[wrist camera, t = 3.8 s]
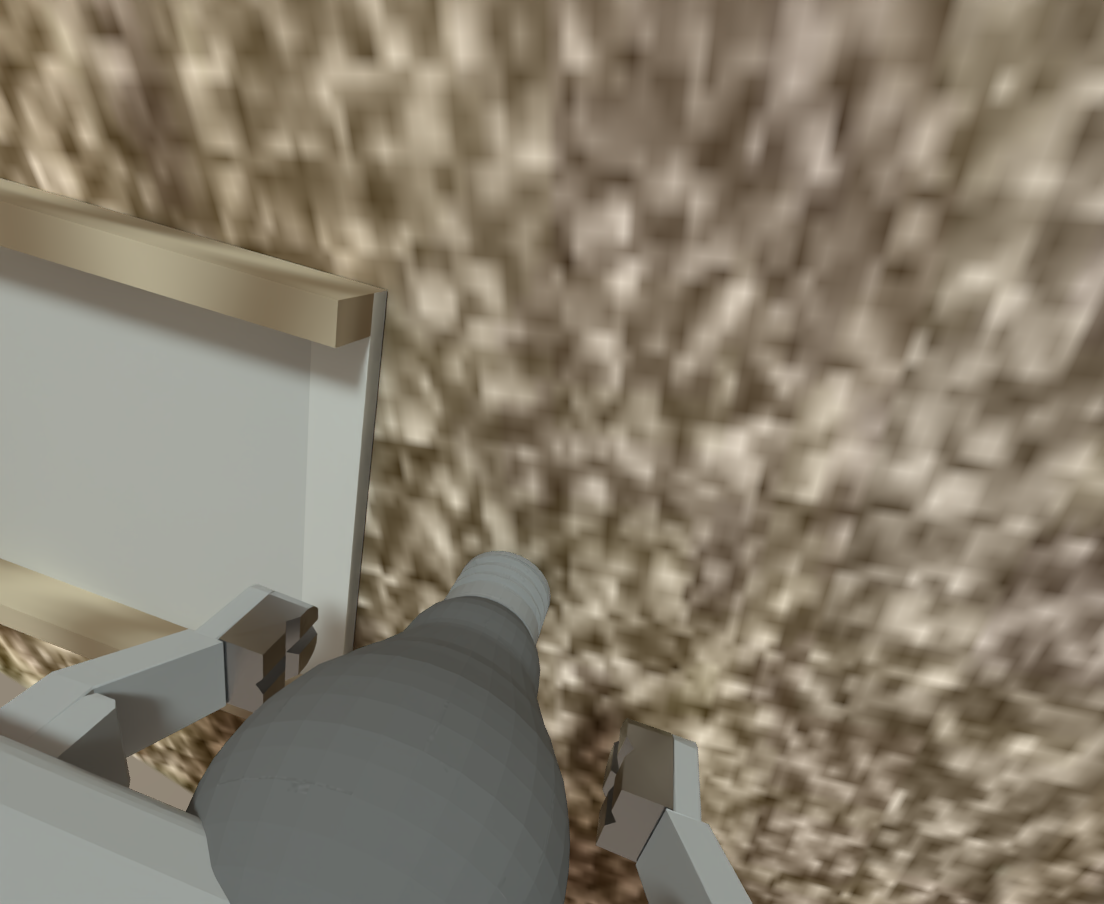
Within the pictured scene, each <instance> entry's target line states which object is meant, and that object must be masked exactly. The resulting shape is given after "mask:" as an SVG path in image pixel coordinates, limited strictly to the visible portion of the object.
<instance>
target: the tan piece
mask: <svg viewBox="0 0 1104 904" xmlns="http://www.w3.org/2000/svg"><path fill="white" fill-rule="evenodd" d="M0 246H2V247H5V248H9V249H12V250H15V251H19V252H22V253H25V254H28V255H32V256H35V257H38V258H41V259H45V260H48V261H51V262H55V263H58V264H61V265H64V266H68V267H71V268H74V269H78V270H81V271H84V272H87V273H91V274H94V275H97V276H100V277H104V278H107V279H110V280H114V281H117V282H120V283H123V284H127V285H130V286H133V287H137V288H140V289H143V290H146V291H150V292H153V293H156V294H159V295H163V296H166V297H169V298H173V299H176V300H179V301H182V302H186V303H189V304H192V305H196V306H199V307H202V308H205V309H209V310H212V311H215V312H218V313H222V314H225V315H228V316H232V317H235V318H238V319H241V320H245V321H248V322H251V323H255V324H258V325H261V326H264V327H268V328H271V329H274V330H277V331H281V332H284V333H287V334H291V335H294V336H297V337H300V338H304V339H307V340H310V341H314V342H317V343H320V344H323V345H327V346H330V347H333V348H337V347H340V346H343V345H346V344H349V343H352V342H355V341H358V340H361V339H364V338H367V337H369V336H370V335H371V324H372V312H373V300H374V293H377V292H382V291H387V290H384V289H381V288H377V287H374V286H370V285H367V284H363V283H360V282H357V281H353V280H350V279H346V278H343V277H339V276H336V275H332V274H329V273H326V272H322V271H319V270H315V269H312V268H308V267H305V266H301V265H298V264H294V263H291V262H288V261H284V260H281V259H277V258H274V257H270V256H267V255H263V254H260V253H257V252H253V251H250V250H246V249H243V248H239V247H236V246H232V245H229V244H226V243H222V242H219V241H215V240H212V239H208V238H205V237H201V236H198V235H195V234H191V233H188V232H184V231H181V230H177V229H174V228H170V227H167V226H163V225H160V224H157V223H153V222H150V221H146V220H143V219H139V218H136V217H132V216H129V215H126V214H122V213H119V212H115V211H112V210H108V209H105V208H101V207H98V206H95V205H91V204H88V203H84V202H81V201H77V200H74V199H70V198H67V197H63V196H60V195H57V194H53V193H50V192H46V191H43V190H39V189H36V188H32V187H29V186H26V185H22V184H19V183H15V182H12V181H8V180H5V179H1V178H0ZM0 624H2V625H4V626H7V627H9V628H12V629H15V630H17V631H20V632H22V633H25V634H27V635H30V636H33V637H35V638H38V639H40V640H43V641H45V642H48V643H51V644H53V645H56V646H58V647H61V648H63V649H66V650H69V651H71V652H74V653H76V654H79V655H81V656H84V657H86V658H89V659H95V658H98V657H101V656H104V655H108V654H111V653H114V652H117V651H120V650H123V649H127V648H130V647H133V646H136V645H139V644H143V643H146V642H149V641H152V640H155V639H158V638H162V637H165V636H168V635H171V634H174V633H177V632H181V631H184V630H187V629H188V628H185V627H182V626H180V625H177V624H174V623H172V622H169V621H166V620H164V619H161V618H158V617H156V616H153V615H150V614H148V613H145V612H142V611H140V610H137V609H134V608H132V607H129V606H126V605H124V604H121V603H118V602H116V601H113V600H110V599H108V598H105V597H102V596H100V595H97V594H94V593H92V592H89V591H86V590H84V589H81V588H78V587H76V586H73V585H70V584H68V583H65V582H62V581H60V580H57V579H54V578H52V577H49V576H46V575H44V574H41V573H38V572H36V571H33V570H30V569H28V568H25V567H22V566H20V565H17V564H14V563H12V562H9V561H6V560H4V559H1V558H0ZM300 676H302V674H300V673H299V675H297V676H295V677H292V678H290V679H288V680H285V686H287V685H288V684H290V683H291V682H293V681H294V680H296V679H297V678H299V677H300ZM220 710H223V711H225V712H228V713H230V714H233V715H235V716H238V717H241V718H243V719H247V718H248V717H249V716H250V715H251V714H252V713H253V712H250V711H247V710H245V709H242V708H239V707H236V706H233V705H230V704H227V703H226V706H225V707H223V708H221V709H220Z"/></svg>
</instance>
